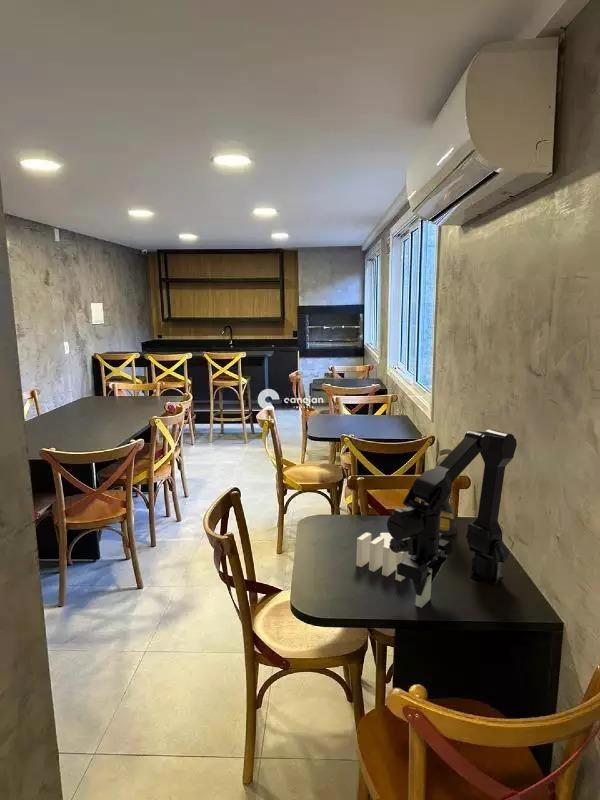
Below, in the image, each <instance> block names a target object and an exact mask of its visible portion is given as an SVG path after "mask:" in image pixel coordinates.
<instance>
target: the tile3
mask: <svg viewBox="0 0 600 800" xmlns="http://www.w3.org/2000/svg"><path fill="white" fill-rule="evenodd" d="M389 545H390V542H389V543H388V544H386V545H385V546H383V562H382V566H381V567H382V568H381V570H382V571H381V575H382V576H384V577H390V575H391V574H392V573H394V572H396V557H397V553H394V552H393V551H392V550H391V549H390V548H389Z"/></svg>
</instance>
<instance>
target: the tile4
mask: <svg viewBox="0 0 600 800" xmlns="http://www.w3.org/2000/svg"><path fill="white" fill-rule="evenodd" d="M383 546H384V538H383V537H380V535H378V537H376V538H374V539H373V540H371V542H370V555H369V562H368V571H371V572H373V573H374V572H376V571H378V570H379V569H380V568H381V567H382V562H383Z"/></svg>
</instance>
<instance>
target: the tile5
mask: <svg viewBox="0 0 600 800" xmlns="http://www.w3.org/2000/svg"><path fill="white" fill-rule="evenodd" d="M372 535H373V534H372V533H370V532H366V531H365V532H364V533H363V534H361V535H360V536H359V537H357V538H356V560H355V561H356V562H355V563H356V565H355V566H357V567H359V568H362V567H364V566H365V565H366V564H369V555H370V542H371V541H372Z"/></svg>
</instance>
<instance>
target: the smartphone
mask: <svg viewBox="0 0 600 800" xmlns="http://www.w3.org/2000/svg"><path fill="white" fill-rule="evenodd" d="M379 536H380V537H383V538H384V546H385V545H386V544H388V543H389V542H390V541H391V539H392V538H393V537H392V536H391V535H390V533H389V532H380V534H379ZM411 557H413V556H412V555H411Z"/></svg>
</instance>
